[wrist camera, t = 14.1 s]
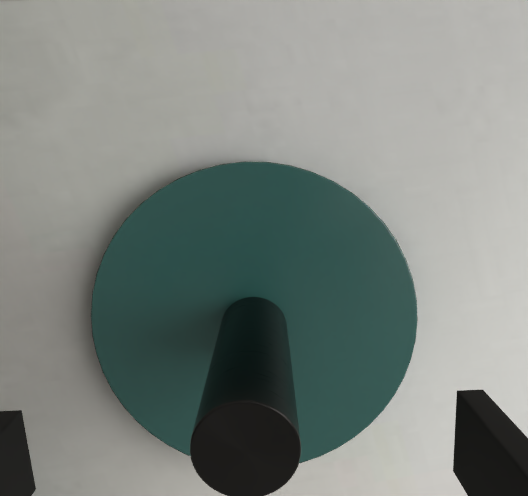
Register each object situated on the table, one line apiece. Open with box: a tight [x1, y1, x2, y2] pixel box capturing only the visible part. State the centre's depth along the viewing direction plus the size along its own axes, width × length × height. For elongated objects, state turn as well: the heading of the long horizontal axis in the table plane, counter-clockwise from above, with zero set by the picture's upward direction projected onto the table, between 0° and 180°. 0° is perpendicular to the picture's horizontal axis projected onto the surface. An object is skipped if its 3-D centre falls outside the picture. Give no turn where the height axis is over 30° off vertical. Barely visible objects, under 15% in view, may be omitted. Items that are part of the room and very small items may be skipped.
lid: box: [91, 162, 417, 496], centre depth 18 cm, size 16×16×10 cm
